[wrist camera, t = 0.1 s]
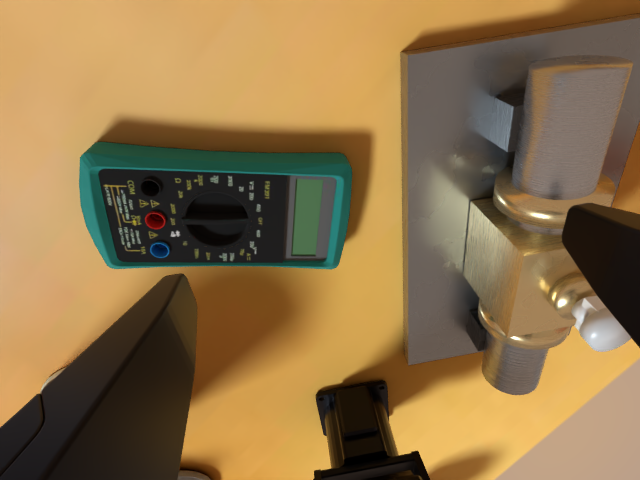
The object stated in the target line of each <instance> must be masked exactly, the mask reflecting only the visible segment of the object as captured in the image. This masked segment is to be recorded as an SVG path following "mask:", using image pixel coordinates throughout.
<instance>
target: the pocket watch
mask: <svg viewBox="0 0 640 480" xmlns="http://www.w3.org/2000/svg"><path fill="white" fill-rule="evenodd" d="M178 480H211V479H210V478H209V477H208V476H206V475H204V474H201V473H199V472H194V471H186V470H181V471H179V474H178Z"/></svg>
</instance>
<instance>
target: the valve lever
mask: <svg viewBox="0 0 640 480" xmlns="http://www.w3.org/2000/svg"><path fill="white" fill-rule="evenodd" d="M571 313H572V315H573V316H574V317H575V318H576V319H577V321H576V324H575V327H576V328H577V329H578V330H579V333H580V335H581V336H582V338H583V339H584V340H585V341H586V342H587V343H588V344H589V345H590V346H591V347H592V349H594V350H596V351H601V352H603V351H609V350H613V349H615V348H618V347H620V346H622V345H623V344H625V343H626V342H627V341H629V340H630V339H631V337H630V336H629V334H628V333H627V332H626V331H625V329H624V328H623V327H622V326H621V325H620V323H619V322H618V321H617V320H616V319H615V317H614V316H613V315H612V314H611V312H610V311H609V310H608V309H607V308H606V306H605V305H604V304H603V303H602V301H601V300H600V299H599V298H598V296H590V297H585V298H583V299H581V300H579V301H578V302H576V303H575V304H574V306H573V307H572V310H571Z"/></svg>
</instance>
